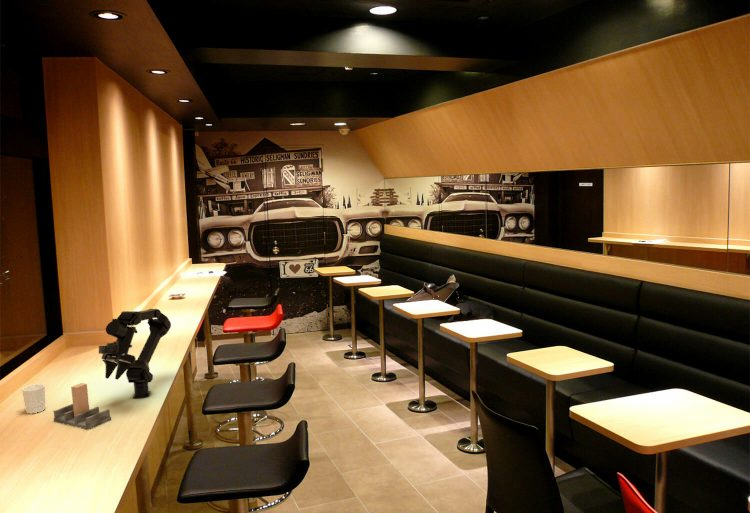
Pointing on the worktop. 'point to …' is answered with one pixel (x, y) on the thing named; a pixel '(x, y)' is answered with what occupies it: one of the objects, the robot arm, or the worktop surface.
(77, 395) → the clay bar
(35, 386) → the white cup
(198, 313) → the worktop surface
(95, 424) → the rack
